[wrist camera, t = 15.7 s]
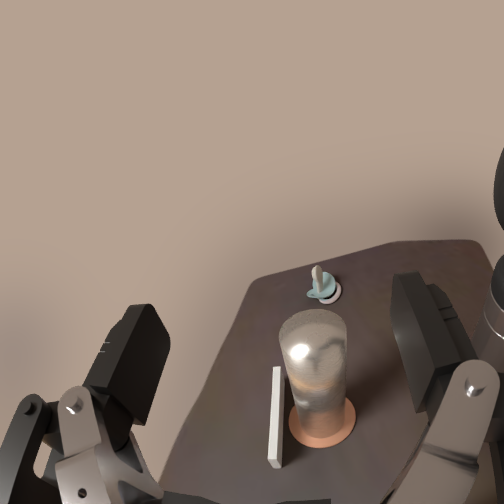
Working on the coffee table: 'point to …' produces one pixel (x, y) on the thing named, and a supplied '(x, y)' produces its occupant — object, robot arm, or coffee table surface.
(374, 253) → the coffee table surface
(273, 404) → the acrylic wall
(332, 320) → the metal tin
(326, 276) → the pacifier
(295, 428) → the terracotta coaster
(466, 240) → the coffee table surface
